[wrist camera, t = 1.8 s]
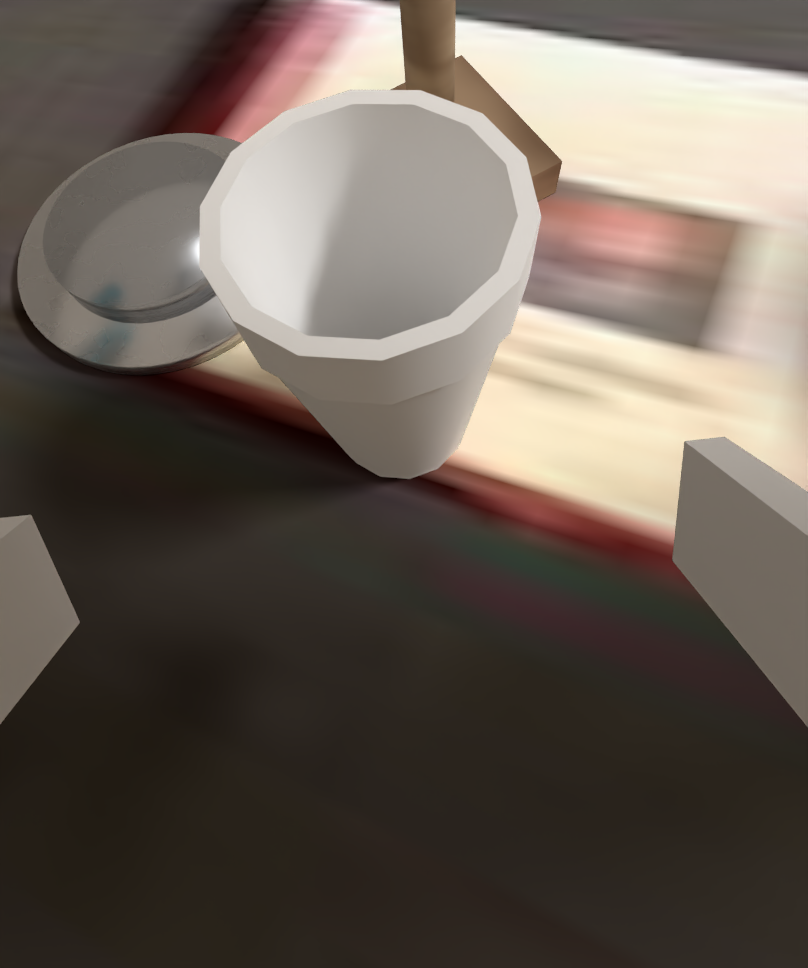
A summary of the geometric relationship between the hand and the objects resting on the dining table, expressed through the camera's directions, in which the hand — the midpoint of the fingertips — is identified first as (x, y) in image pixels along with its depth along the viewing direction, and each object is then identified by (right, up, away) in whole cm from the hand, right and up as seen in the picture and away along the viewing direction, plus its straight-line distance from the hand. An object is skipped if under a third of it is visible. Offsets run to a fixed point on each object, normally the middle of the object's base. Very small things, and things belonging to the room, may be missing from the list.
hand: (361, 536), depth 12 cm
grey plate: (-13, +14, +21) cm, 28 cm away
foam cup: (+1, +4, +16) cm, 17 cm away
